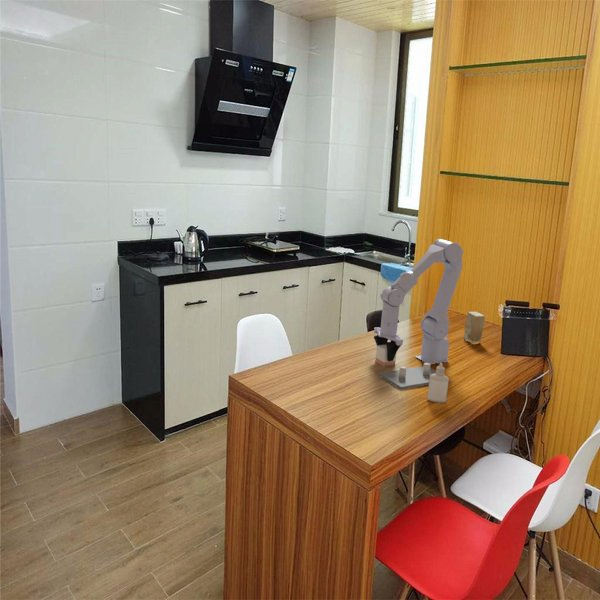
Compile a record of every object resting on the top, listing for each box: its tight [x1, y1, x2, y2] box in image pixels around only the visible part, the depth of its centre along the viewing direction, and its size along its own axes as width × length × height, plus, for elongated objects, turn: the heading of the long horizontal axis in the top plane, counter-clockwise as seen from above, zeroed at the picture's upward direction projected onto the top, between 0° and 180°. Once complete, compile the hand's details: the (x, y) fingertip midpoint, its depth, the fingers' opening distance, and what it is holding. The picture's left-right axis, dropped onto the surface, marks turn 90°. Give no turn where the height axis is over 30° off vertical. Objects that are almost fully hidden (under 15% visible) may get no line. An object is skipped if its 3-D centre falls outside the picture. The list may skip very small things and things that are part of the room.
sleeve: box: [375, 345, 397, 367], centre depth 192 cm, size 5×5×6 cm
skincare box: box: [463, 311, 486, 343], centre depth 219 cm, size 6×4×12 cm
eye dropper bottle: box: [426, 363, 450, 404], centre depth 163 cm, size 4×6×12 cm
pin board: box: [378, 362, 450, 391], centre depth 179 cm, size 20×12×4 cm, turn 117°
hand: (385, 357), depth 192 cm, fingers closed on sleeve, 5 cm apart
